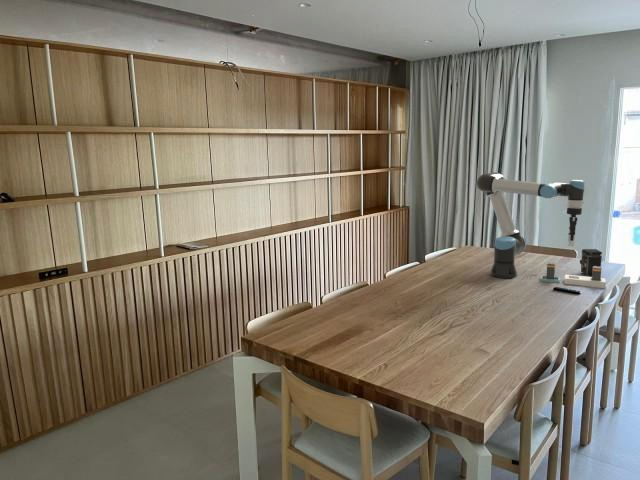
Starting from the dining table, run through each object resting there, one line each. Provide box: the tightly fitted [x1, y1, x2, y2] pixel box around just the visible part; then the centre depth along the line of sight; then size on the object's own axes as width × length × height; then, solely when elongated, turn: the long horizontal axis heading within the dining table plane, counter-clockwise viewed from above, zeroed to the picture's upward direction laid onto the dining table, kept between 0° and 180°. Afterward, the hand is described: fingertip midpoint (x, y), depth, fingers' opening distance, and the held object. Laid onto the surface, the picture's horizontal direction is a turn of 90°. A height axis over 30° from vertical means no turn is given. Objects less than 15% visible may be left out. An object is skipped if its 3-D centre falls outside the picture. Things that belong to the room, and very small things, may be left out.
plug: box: [545, 262, 556, 280], centre depth 273 cm, size 4×4×10 cm
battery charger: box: [564, 266, 607, 289], centre depth 264 cm, size 20×9×10 cm, turn 61°
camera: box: [579, 248, 603, 276], centre depth 285 cm, size 10×10×15 cm
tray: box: [539, 275, 561, 284], centre depth 273 cm, size 10×8×2 cm
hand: (570, 243), depth 271 cm, fingers open, 13 cm apart
